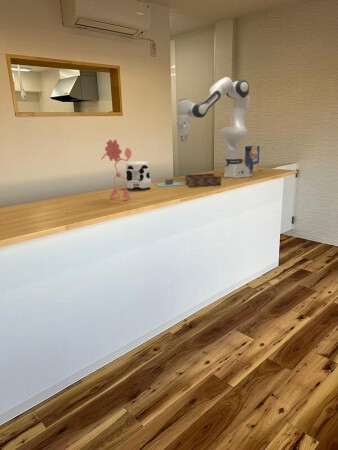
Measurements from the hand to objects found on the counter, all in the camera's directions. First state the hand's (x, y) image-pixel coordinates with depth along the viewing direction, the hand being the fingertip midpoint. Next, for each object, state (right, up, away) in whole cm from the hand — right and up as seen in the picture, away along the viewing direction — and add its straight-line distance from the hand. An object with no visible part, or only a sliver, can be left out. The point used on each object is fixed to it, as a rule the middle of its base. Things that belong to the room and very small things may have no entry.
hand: (183, 141), depth 246 cm
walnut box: (+13, -33, -11) cm, 37 cm away
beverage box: (+61, -15, +44) cm, 77 cm away
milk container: (-32, -38, -19) cm, 53 cm away
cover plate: (-11, -34, -7) cm, 36 cm away
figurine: (-42, -48, -51) cm, 82 cm away
